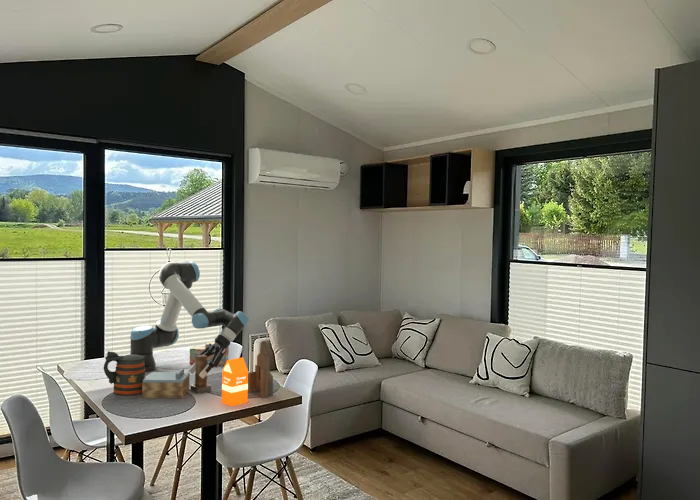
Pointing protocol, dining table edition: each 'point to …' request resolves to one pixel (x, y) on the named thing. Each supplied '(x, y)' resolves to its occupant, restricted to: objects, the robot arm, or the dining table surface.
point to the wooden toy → (261, 373)
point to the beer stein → (126, 373)
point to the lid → (167, 377)
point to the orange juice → (235, 382)
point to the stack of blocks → (197, 350)
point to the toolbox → (165, 389)
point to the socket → (200, 388)
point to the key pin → (200, 370)
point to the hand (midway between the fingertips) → (195, 374)
